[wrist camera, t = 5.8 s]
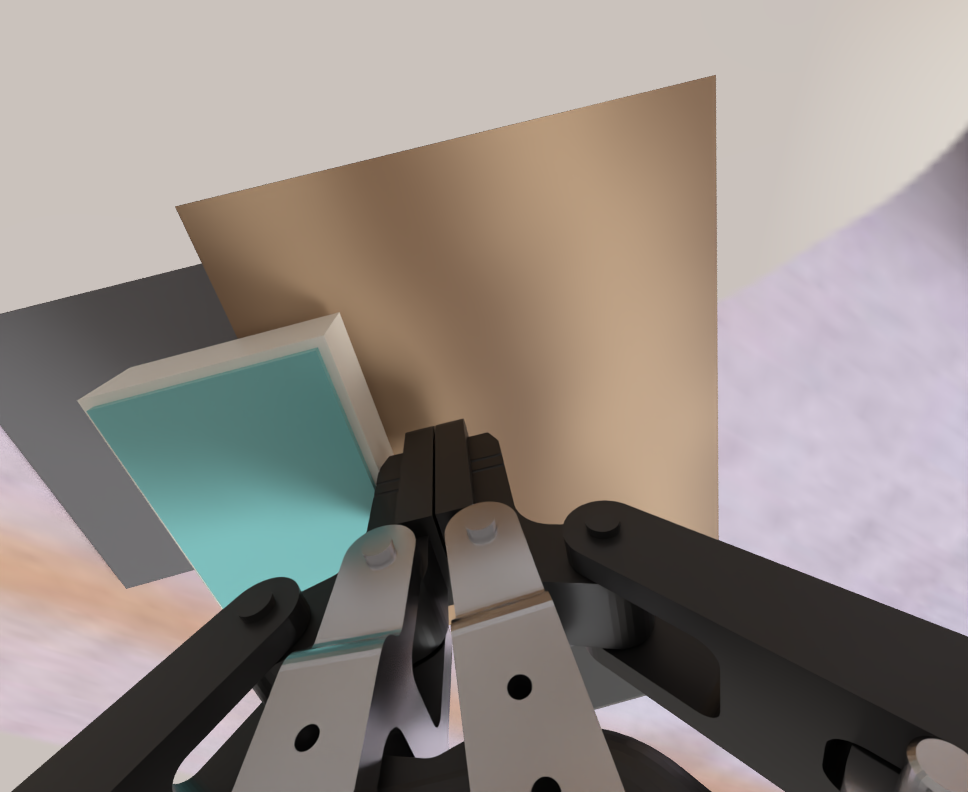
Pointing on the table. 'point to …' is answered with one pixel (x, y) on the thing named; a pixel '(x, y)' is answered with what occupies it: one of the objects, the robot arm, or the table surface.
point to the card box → (252, 452)
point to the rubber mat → (81, 369)
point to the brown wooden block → (515, 293)
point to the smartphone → (602, 681)
